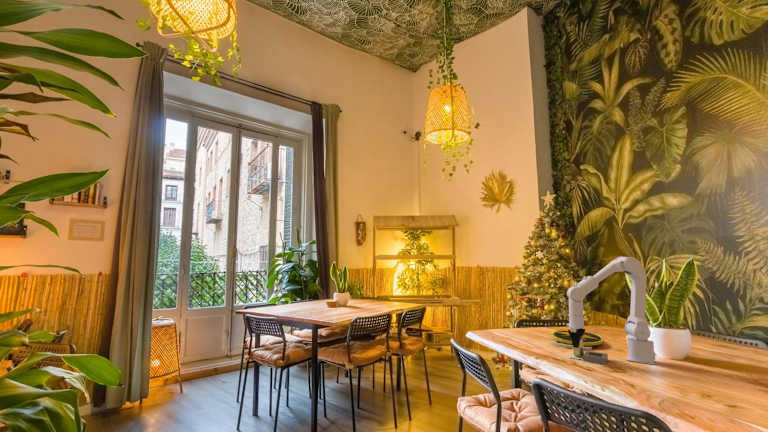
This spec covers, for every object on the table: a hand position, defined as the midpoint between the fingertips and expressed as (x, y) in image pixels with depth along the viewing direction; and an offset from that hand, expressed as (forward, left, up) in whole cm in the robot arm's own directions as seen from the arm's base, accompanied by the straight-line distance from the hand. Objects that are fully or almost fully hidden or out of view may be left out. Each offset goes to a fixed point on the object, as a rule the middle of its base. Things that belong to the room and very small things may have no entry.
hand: (577, 346), depth 169 cm
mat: (0, 0, -5) cm, 5 cm away
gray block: (-7, 0, -5) cm, 8 cm away
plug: (-1, 0, -4) cm, 4 cm away
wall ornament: (+6, -28, -5) cm, 29 cm away
